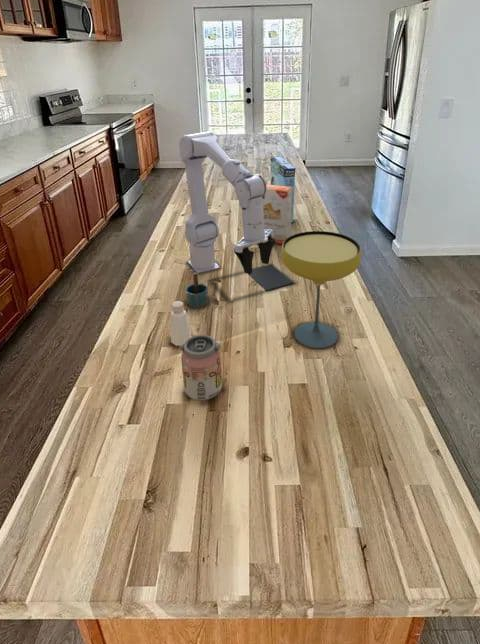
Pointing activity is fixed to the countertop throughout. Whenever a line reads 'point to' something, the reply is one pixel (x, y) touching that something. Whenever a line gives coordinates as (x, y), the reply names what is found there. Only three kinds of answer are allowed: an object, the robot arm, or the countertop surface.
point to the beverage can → (201, 367)
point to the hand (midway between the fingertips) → (256, 268)
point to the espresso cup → (197, 295)
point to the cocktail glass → (320, 273)
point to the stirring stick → (196, 283)
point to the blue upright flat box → (283, 176)
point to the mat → (269, 277)
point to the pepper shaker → (179, 324)
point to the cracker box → (278, 211)
